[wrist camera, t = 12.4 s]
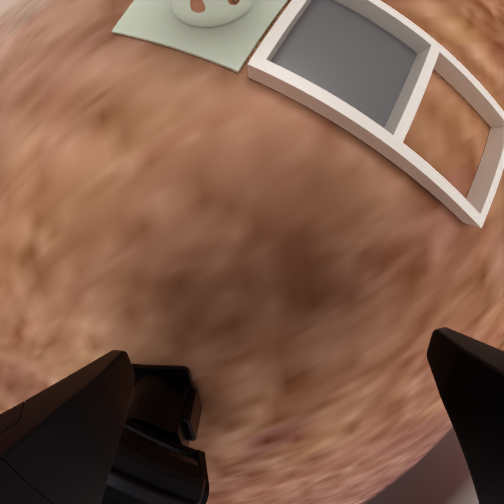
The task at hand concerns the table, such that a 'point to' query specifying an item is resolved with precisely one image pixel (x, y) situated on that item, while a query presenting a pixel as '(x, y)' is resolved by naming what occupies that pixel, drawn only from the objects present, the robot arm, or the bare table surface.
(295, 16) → the white divided tray
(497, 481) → the robot arm
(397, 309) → the table surface
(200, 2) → the shiny metal tumbler
